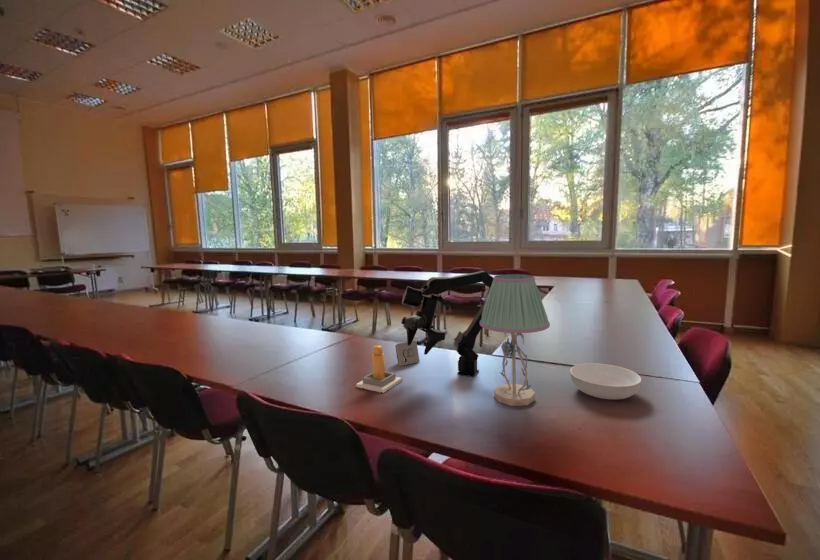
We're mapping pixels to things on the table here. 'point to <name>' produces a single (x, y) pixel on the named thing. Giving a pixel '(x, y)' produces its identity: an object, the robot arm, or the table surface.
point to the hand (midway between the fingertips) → (416, 349)
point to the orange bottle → (378, 363)
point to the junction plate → (379, 382)
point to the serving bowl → (605, 380)
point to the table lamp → (514, 327)
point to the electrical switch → (407, 353)
